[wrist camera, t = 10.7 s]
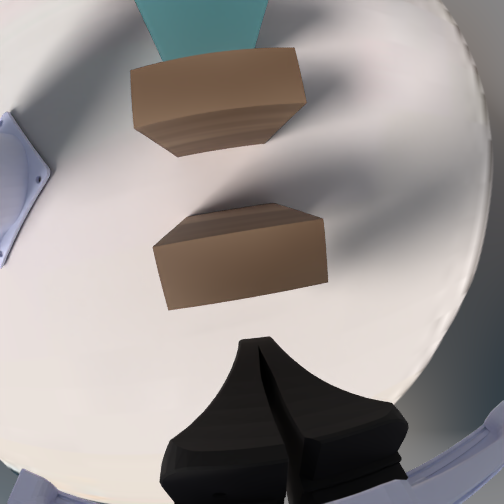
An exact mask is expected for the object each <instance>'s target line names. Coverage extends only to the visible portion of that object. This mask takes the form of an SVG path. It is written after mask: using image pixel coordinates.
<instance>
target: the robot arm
mask: <svg viewBox="0 0 504 504" xmlns="http://www.w3.org/2000/svg"><path fill="white" fill-rule="evenodd" d="M49 176H50V169H49V167H48V166H47V165H46V163H45V162H44V161H43V159H42V158H41V157H40V155H39V154H38V153H37V151H36V150H35V148H34V147H33V146H32V144H31V143H30V141H29V140H28V139H27V137H26V136H25V134H24V133H23V131H22V130H21V128H20V127H19V125H18V124H17V122H16V121H15V119H14V118H13V116H12V115H11V113H10V112H5V113H4V114H3V115H2V117H1V119H0V268H2V267H3V265H4V263H5V260H6V258H7V255H8V253H9V251H10V249H11V246H12V244H13V242H14V240H15V238H16V236H17V233H18V231H19V229H20V227H21V225H22V223H23V221H24V220H25V218H26V216H27V214H28V212H29V210H30V208H31V207H32V205H33V203H34V201H35V200H36V198H37V196H38V195H39V193H40V191H41V190H42V188H43V186H44V185H45V183H46V182H47V180H48V179H49ZM40 177H41V182H39V178H40ZM2 253H3V255H2ZM407 431H408V423H407V421H406V420H405V418H404V417H403V416H402V414H401V413H400V412H399V410H398V409H397V408H396V407H395V406H394V405H393V404H392V403H390V402H384V401H379V400H374V399H369V398H365V397H362V396H359V395H355V394H352V393H349V392H347V391H344V390H342V389H339V388H337V387H335V386H333V385H330V384H328V383H327V382H325V381H323V380H321V379H319V378H318V377H316V376H314V375H313V374H311V373H310V372H308V371H307V370H306V369H304V368H303V367H302V366H300V365H299V364H298V363H297V362H296V361H294V360H293V359H292V358H291V357H290V356H289V355H288V354H287V353H286V352H284V351H283V349H282V348H281V347H280V346H279V345H278V344H277V343H276V342H275V341H274V340H273V339H272V338H271V337H270V336H269V337H261V338H252V339H242V340H240V341H239V346H238V351H237V355H236V358H235V361H234V363H233V366H232V369H231V371H230V373H229V375H228V377H227V379H226V381H225V383H224V384H223V386H222V388H221V389H220V391H219V392H218V394H217V395H216V397H215V398H214V399H213V401H212V402H211V403H210V405H209V406H208V407H207V408H206V409H205V411H204V412H203V413H202V414H201V415H200V416H199V417H198V418H197V419H196V420H195V421H194V422H193V423H192V424H191V425H189V426H188V427H187V428H186V429H185V430H183V431H182V432H181V433H179V434H178V435H177V436H175V437H174V438H173V439H171V440H170V442H169V444H168V446H167V449H166V451H165V454H164V457H163V461H162V465H161V473H160V484H161V486H162V487H163V489H164V490H165V491H166V492H167V494H168V495H169V496H170V497H171V499H172V500H173V501H174V504H284V498H285V497H286V491H287V496H288V501H289V504H461V503H463V502H464V501H465V500H466V499H468V498H469V497H470V496H472V495H473V494H474V493H475V492H476V491H478V490H479V489H480V488H481V487H482V486H484V485H485V484H486V483H487V482H488V481H489V480H490V479H491V478H492V477H494V476H495V475H496V474H497V473H498V472H499V471H500V470H501V469H502V468H503V467H504V400H503V401H502V402H501V403H500V404H499V405H498V406H496V407H495V408H494V409H493V410H492V411H491V413H490V414H489V415H488V417H487V418H486V420H485V422H484V424H483V425H482V426H480V427H479V428H478V429H476V430H475V431H474V432H472V433H471V434H470V435H468V436H467V437H466V438H464V439H463V440H461V441H460V442H458V443H457V444H455V445H454V446H452V447H451V448H449V449H448V450H446V451H444V452H443V453H441V454H439V455H438V456H436V457H434V458H433V459H431V460H429V461H427V462H426V463H424V464H422V465H420V466H418V467H416V468H414V469H412V470H411V471H408V472H406V473H405V471H404V470H403V468H402V467H401V465H400V463H399V462H400V461H401V456H400V455H399V453H398V449H399V447H400V446H401V444H402V442H403V440H404V438H405V436H406V433H407ZM7 504H99V503H95V502H92V501H88V500H85V499H82V498H79V497H76V496H73V495H70V494H67V493H64V492H62V491H59V490H58V489H57V488H56V487H55V486H54V485H53V484H52V483H51V482H49V481H48V480H46V479H45V478H43V477H41V476H39V475H36V474H34V473H32V472H30V471H28V470H26V469H22V470H21V472H20V474H19V476H18V479H17V481H16V483H15V485H14V488H13V490H12V492H11V495H10V497H9V500H8V502H7Z"/></svg>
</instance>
